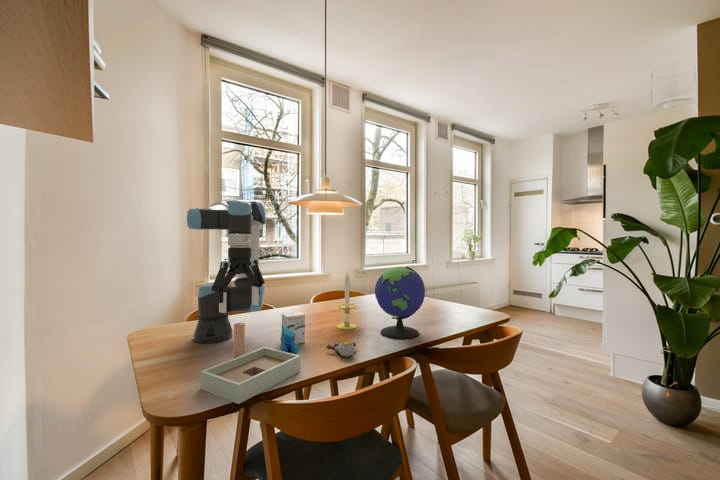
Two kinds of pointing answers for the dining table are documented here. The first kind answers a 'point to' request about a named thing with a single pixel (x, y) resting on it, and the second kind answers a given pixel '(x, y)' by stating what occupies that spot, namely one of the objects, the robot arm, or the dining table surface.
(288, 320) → the ink box
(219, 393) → the box
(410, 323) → the dining table surface
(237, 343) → the peg
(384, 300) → the globe
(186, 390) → the dining table surface
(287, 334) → the gemstone
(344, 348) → the toy
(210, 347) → the dining table surface
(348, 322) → the candle
